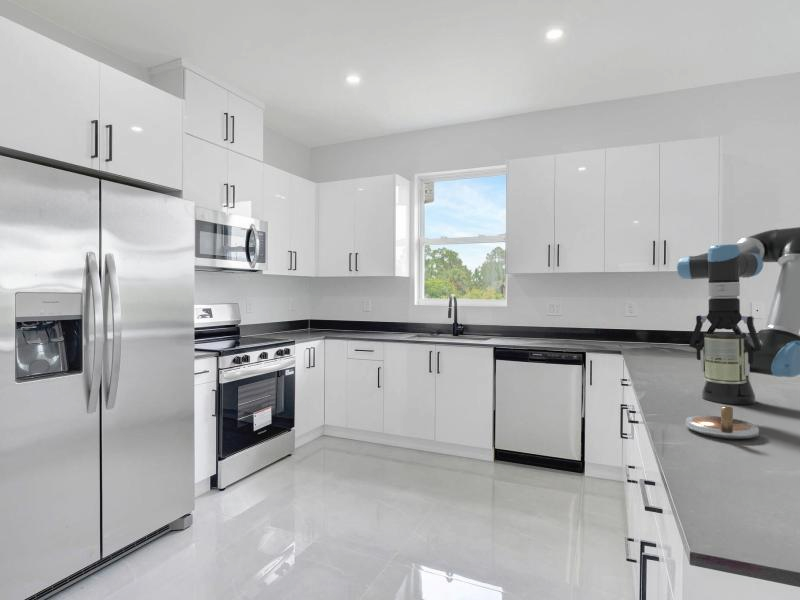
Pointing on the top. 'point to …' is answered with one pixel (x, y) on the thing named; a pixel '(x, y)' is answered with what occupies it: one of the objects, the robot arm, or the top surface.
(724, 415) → the turntable
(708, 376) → the coffee can
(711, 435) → the turntable base
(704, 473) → the top surface
